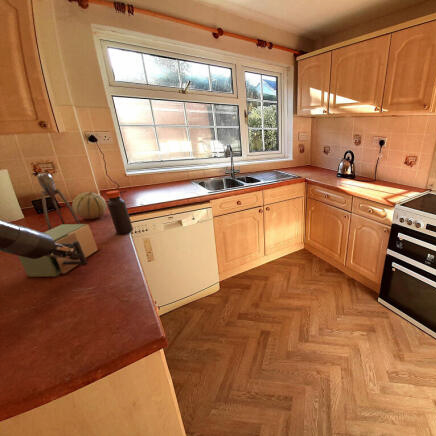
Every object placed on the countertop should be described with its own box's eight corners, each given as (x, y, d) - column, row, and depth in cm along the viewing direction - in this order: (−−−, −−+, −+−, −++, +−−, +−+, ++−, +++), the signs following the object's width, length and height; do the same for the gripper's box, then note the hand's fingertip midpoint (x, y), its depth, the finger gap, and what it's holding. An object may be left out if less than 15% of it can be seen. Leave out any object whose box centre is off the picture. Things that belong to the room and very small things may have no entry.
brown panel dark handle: (62, 273, 85) (49, 244, 81) (83, 259, 93) (72, 232, 89) (86, 273, 85) (74, 243, 80) (105, 259, 93) (95, 232, 89)
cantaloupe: (84, 215, 141) (75, 190, 135) (113, 211, 145) (105, 187, 139) (72, 224, 128) (61, 197, 122) (104, 220, 132) (95, 194, 126)
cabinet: (28, 276, 85) (12, 246, 80) (72, 250, 101) (61, 224, 97) (58, 276, 84) (44, 245, 80) (98, 250, 101) (88, 224, 96)
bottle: (127, 228, 122) (115, 189, 114) (136, 229, 119) (124, 190, 112) (113, 233, 116) (99, 193, 109) (123, 235, 114) (109, 194, 106)
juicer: (84, 233, 117) (60, 171, 106) (53, 241, 109) (24, 176, 98) (81, 228, 123) (58, 169, 112) (51, 235, 116) (24, 173, 105)
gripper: (52, 228, 68) (100, 246, 84) (7, 229, 68) (63, 246, 84) (41, 255, 65) (93, 268, 81) (-6, 255, 65) (54, 268, 81)
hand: (77, 257), depth 83 cm, fingers closed
